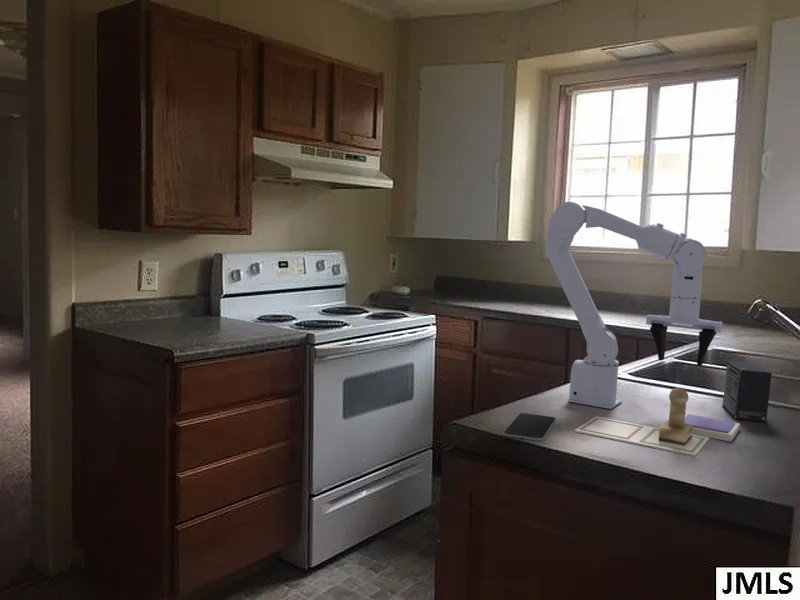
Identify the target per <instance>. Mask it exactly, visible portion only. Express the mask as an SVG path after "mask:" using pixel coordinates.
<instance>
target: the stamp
mask: <svg viewBox="0 0 800 600" xmlns="http://www.w3.org/2000/svg"><path fill="white" fill-rule="evenodd" d="M668 398H669V401H670V402H669V403H670V405H669V414H668V415H669V417H668V420H666V421H665V422H664V423H663V424H661V425H660V426H659V427H658V428H659V441H663V442H668V443H673V444H678V445H683V446H685V445H686V444H687V442H688V441H689V440H690V439H691V438H692V435H693V434H692V429H693V425H691V424H686V423H685V414H686V410H687V408H686V407H687V403H688V401H689V393H688V391H687V390H686V389H683V388H682V387H675V388H673V389H671V391H670V392H669V394H668Z"/></svg>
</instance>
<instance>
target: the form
mask: <svg viewBox="0 0 800 600" xmlns="http://www.w3.org/2000/svg"><path fill="white" fill-rule="evenodd" d="M659 428H660V427H654V426H649V425H643V424H638V423H633V422H628V421H622V420H618V419H611V418H607V417H601V416H594V417H593V418H591V419H590V420H588V421H587V422H585V423H583V424H582V425H580V426H579V427H577V428H576V429H574V433H580V434H585V435H588V436H593V437H594V436H595V437H599V438H603V439H609V440H613V441H618V442H622V443H628V444H634V445H638V446H643V447H647V448H654V449H657V450H661V451H662V450H663V451H667V452H672V453H677V454H681V455H688V456H692V457H696V456H697V455H698V454H699V452H700V451H701V450H702V449H703V448H704V447H705V445H706V444H707V442H708V441H709V440H710V438H709V437H704V436H698V435H693V434H692V438H691V439H690V440H689V441H688V442H687V444H686V445H685V446H683V445H678V444H673V443H668V442H663V441H659Z"/></svg>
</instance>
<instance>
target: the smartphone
mask: <svg viewBox="0 0 800 600" xmlns="http://www.w3.org/2000/svg"><path fill="white" fill-rule="evenodd" d="M556 422H557V418H556V417H554V416H549V415H543V414H534V413H527V412H520V413H518V414H517V415H516V416H515V418H514V419H513V420H512V421H510V423H509V424H508V426H507V427H505V429H504V430H503V432H502V435H503V437H509V438H514V439H524V440H528V441H534V442H535V441H536V442H543V441H544V440H545V439H546V437H547V436H548V435H549V432H550V431H551V430H552V428H553V427H554V425H555V424H556Z"/></svg>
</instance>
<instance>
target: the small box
mask: <svg viewBox="0 0 800 600" xmlns="http://www.w3.org/2000/svg"><path fill="white" fill-rule="evenodd" d="M725 372H726V373H725V379H724V389H723V390H724V391H723V400H722V403H721V404H722V405H721V406H722V408H723V409H724V410H725V411H726V412H727V414H729V415H730V416H731V417H732V418H733V419H734V420H740V421H743V420H744V421H752V422H762V423H767V420H768V411H769V410H768V409H769V402H770V401H769V400H770V390H771V383H772V375H773V372H772V371H770V370H769V369H767V368H766V367H764V366H762V365H760V364H759V363H757V362H748V361H747V362H746V361H739V360H738V361H737V360H726V371H725Z"/></svg>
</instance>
